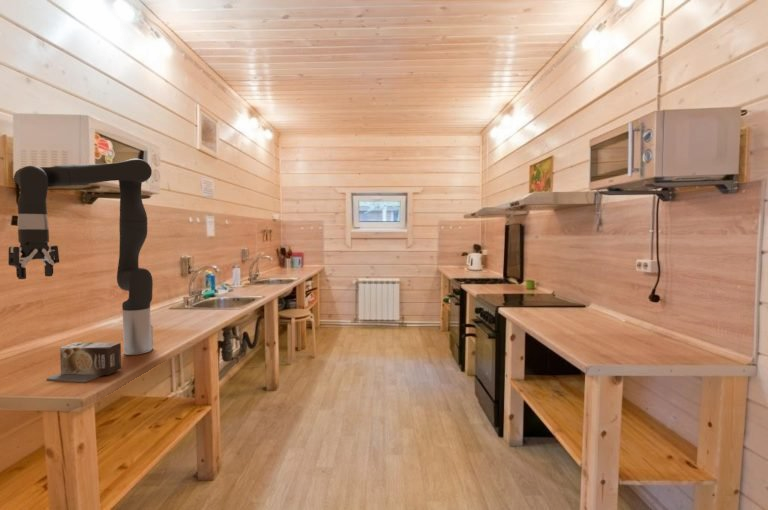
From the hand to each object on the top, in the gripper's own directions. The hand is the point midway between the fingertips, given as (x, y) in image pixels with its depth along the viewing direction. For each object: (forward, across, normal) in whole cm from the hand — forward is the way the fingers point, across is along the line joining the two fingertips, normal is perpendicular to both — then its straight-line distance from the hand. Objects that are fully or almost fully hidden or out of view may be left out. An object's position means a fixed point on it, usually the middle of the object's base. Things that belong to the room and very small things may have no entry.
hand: (35, 277), depth 129 cm
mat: (+32, +2, -15) cm, 35 cm away
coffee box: (+27, +2, -9) cm, 29 cm away
